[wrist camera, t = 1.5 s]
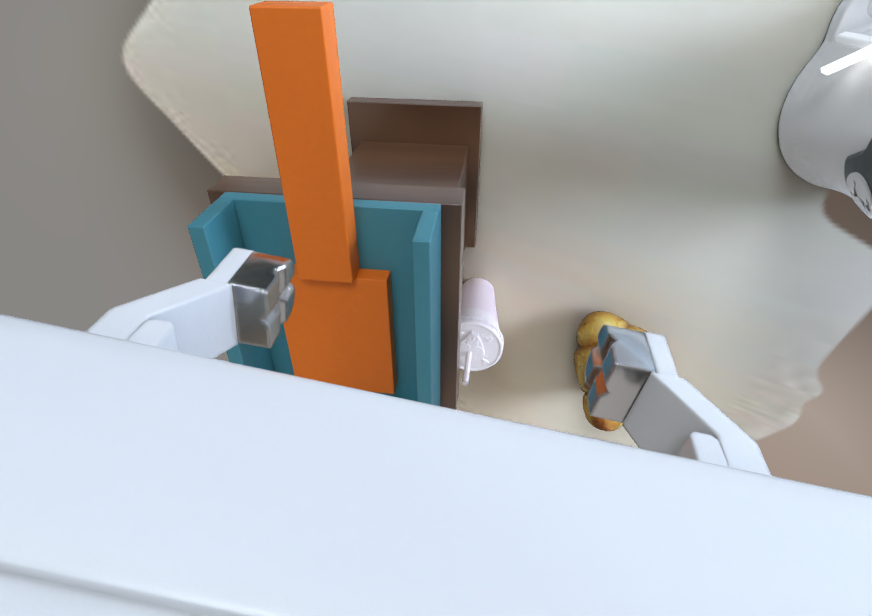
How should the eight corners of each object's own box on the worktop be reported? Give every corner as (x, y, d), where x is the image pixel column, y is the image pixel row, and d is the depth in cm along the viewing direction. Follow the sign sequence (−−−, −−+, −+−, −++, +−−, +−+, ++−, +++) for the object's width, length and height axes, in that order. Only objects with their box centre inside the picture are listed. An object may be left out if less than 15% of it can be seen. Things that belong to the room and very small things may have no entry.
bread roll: (559, 310, 59) (564, 358, 53) (651, 291, 56) (667, 339, 50) (584, 391, 66) (590, 442, 59) (667, 377, 63) (683, 429, 56)
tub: (225, 191, 27) (186, 226, 24) (441, 203, 25) (430, 241, 22) (277, 400, 36) (255, 444, 33) (440, 416, 34) (432, 464, 31)
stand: (343, 73, 47) (206, 190, 27) (489, 77, 46) (461, 204, 25) (359, 233, 57) (266, 409, 36) (480, 240, 55) (455, 428, 35)
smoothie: (444, 308, 61) (426, 395, 50) (455, 261, 57) (437, 344, 46) (498, 319, 61) (492, 409, 50) (512, 274, 57) (509, 360, 46)
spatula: (224, -1, 21) (206, 5, 20) (374, 2, 20) (364, 7, 19) (301, 373, 33) (293, 390, 31) (397, 382, 32) (392, 400, 31)
